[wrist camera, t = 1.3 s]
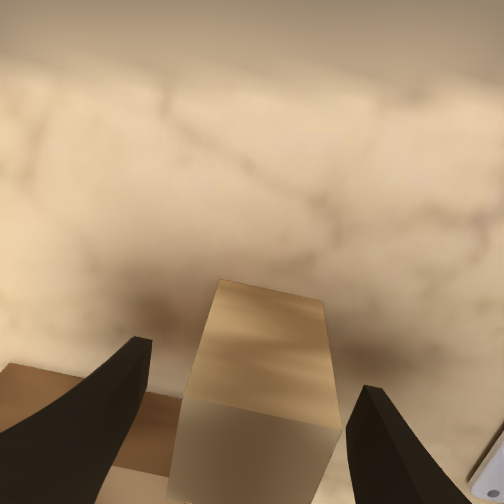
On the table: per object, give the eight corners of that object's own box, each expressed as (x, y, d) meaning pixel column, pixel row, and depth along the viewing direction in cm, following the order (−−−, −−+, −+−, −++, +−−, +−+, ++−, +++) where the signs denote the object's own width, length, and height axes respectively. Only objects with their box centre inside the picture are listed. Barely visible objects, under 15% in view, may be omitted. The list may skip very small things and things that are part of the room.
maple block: (322, 301, 15) (342, 430, 10) (296, 379, 17) (300, 526, 11) (220, 278, 15) (183, 396, 10) (204, 359, 17) (165, 497, 11)
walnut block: (208, 399, 18) (188, 481, 15) (183, 516, 22) (163, 605, 18) (14, 358, 18) (-54, 431, 14) (23, 483, 22) (-29, 566, 18)
